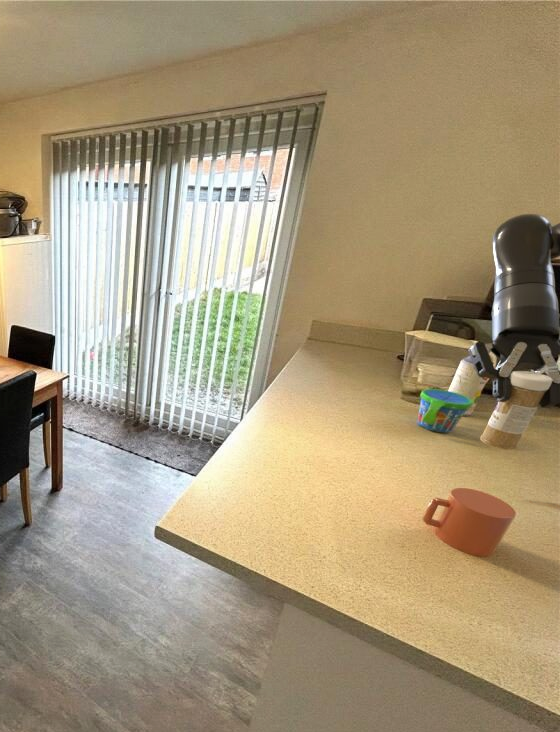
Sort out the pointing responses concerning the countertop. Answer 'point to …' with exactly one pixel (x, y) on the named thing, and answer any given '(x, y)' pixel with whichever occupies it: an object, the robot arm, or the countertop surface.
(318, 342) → the countertop surface
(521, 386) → the brown spice jar
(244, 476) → the countertop surface
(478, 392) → the aerosol can
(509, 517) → the upturned cup
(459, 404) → the snack cup
